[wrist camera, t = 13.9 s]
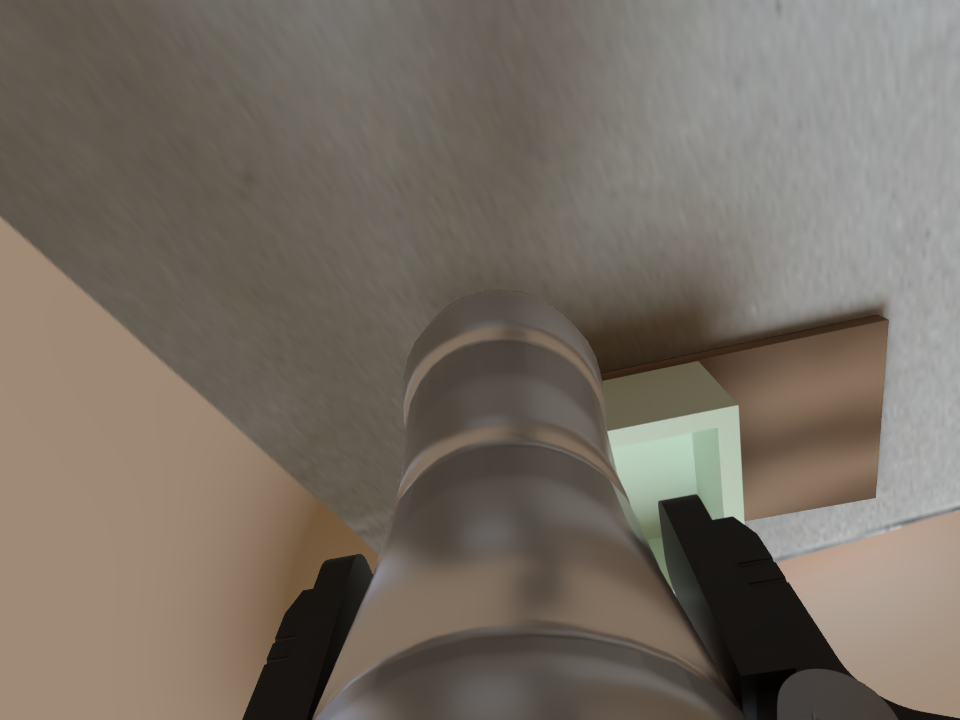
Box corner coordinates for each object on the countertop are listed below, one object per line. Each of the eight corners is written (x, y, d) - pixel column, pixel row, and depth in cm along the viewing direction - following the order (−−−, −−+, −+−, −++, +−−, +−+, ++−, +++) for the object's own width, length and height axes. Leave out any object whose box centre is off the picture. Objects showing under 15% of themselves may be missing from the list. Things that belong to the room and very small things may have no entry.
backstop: (452, 405, 31) (438, 521, 22) (878, 314, 29) (1063, 403, 19) (497, 556, 36) (502, 703, 27) (866, 489, 33) (1011, 626, 24)
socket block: (485, 405, 30) (485, 455, 25) (698, 360, 29) (738, 404, 24) (527, 561, 35) (534, 626, 30) (712, 528, 34) (748, 591, 29)
